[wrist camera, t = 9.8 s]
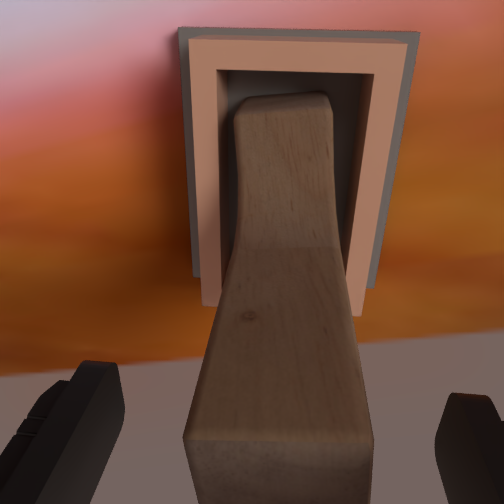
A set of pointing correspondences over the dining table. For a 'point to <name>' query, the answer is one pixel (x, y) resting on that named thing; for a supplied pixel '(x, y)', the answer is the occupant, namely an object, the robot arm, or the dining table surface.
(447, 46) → the dining table surface
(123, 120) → the dining table surface
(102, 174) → the dining table surface
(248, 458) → the wooden block
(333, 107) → the block holder
